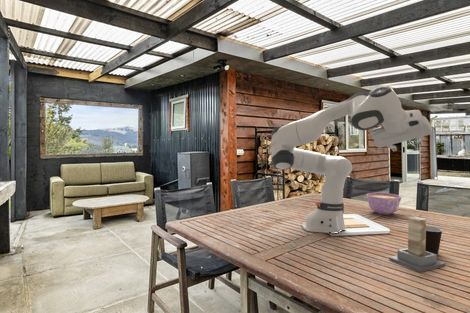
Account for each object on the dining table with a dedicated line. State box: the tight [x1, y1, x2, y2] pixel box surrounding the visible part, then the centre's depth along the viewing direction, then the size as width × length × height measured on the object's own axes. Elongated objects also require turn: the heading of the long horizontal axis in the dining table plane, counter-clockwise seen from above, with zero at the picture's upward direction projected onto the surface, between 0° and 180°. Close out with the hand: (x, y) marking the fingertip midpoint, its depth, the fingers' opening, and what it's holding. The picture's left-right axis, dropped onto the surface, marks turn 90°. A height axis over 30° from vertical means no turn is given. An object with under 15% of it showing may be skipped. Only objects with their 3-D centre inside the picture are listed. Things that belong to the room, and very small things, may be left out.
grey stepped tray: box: [388, 247, 446, 273], centre depth 107 cm, size 14×12×4 cm
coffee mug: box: [425, 225, 443, 256], centre depth 118 cm, size 12×9×10 cm
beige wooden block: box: [407, 216, 427, 257], centre depth 107 cm, size 4×4×16 cm
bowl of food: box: [366, 192, 402, 216], centre depth 183 cm, size 20×20×12 cm
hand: (407, 146), depth 115 cm, fingers open, 8 cm apart
